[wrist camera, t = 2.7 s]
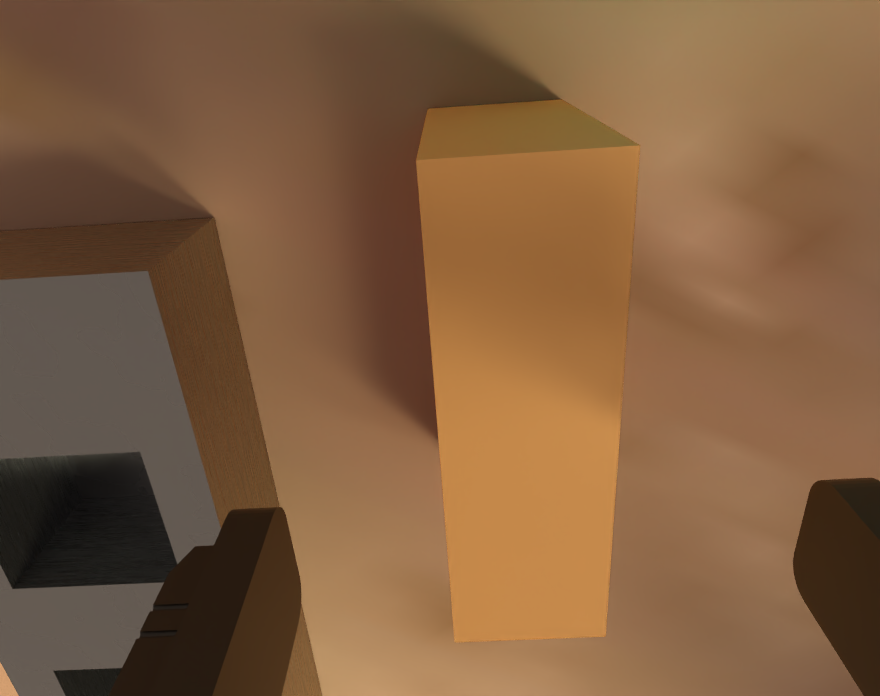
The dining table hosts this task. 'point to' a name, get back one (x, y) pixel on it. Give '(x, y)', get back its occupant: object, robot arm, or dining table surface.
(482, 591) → the long orange brick
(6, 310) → the grey slotted block
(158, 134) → the dining table surface
